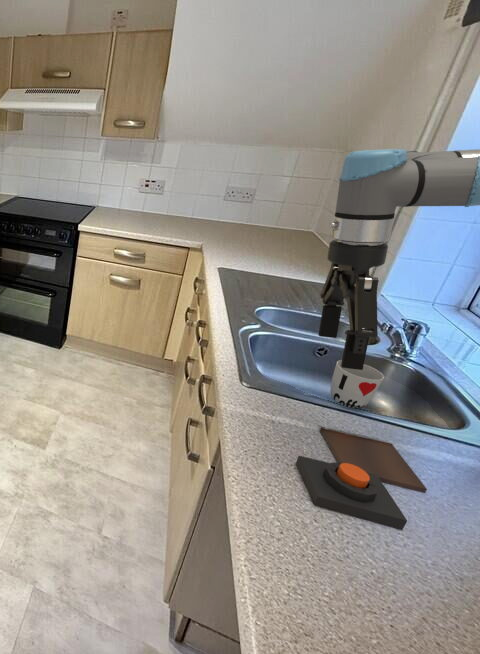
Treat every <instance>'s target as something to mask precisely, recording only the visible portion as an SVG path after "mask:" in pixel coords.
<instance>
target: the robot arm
mask: <svg viewBox="0 0 480 654" xmlns="http://www.w3.org/2000/svg"><path fill="white" fill-rule="evenodd" d="M338 182H339V184H338V189H337V190H338V191H337V196H336V197H337V198H336V205H335V212H334V217H333V221H331V222H329V223H328V224H329V225H328V226H329V228H332V229H331V236H330V237H331V238H332V240H331V241H329V245H328V251H327V260H328V261H329V262H330V263H331V265H330V268H329V272H328V274H327V276H326V279H325V282H324V285H323V287H322V290H321V292H320V294H319V296H320V299H322V304H323V305H322V309H321V310H322V311H321V316H320V322H319V328H318V336H319V337H321V338H323V337H324V338H331V339H332V338H333V339H337V337H338V332H339V326H340V320H341V315H342V310H343V307H342V306H345V301H344V300H345V299H346V304H347V313H348V323H349V329H346V330H345V331H344V334H345V335H346V337H345V342H344V348H343V353H342V358H341V360H342V363H341V367H342V368H349V369H357V370H363V366H364V364H365V360H366V355H367V350H368V345H369V341H370V338H377V337H378V335H379V333H378V287H379V282H380V281H379V277H373V276H371V275H370V270H371V269H372V268H374V267H375V268H378V267H381V266H383V265H385V263H386V259H387V255H388V249H389V245H388V244H387V242H389V241H390V240H391V238H392V237H391V236H392V233H393V232H392V231H393V227H394V222H395V215H396V210H397V208H399V207H401V208H405V207H406V208H409V207H464V208H469V207H477V206H478V207H479V206H480V148H477V149H457V150H456V149H455V150H441V151H417V150H407V151H406V150H405V149H403V148H384V149H383V148H382V149H365V150H364V149H363V150H354V151H352V152H350V153H348V154H347V155H346V156H345V158H344V161H343V164H342V168H341V172H340V176H339V178H338Z"/></svg>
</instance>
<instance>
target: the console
mask: <svg viewBox="0 0 480 654" xmlns="http://www.w3.org/2000/svg"><path fill="white" fill-rule="evenodd" d="M340 464H342V463H340V462H337V461H334V462H327V461H323V460H318V459H316V458H311V457H308V456H307V457H306V456H303V455H297V459H296V462H295V466H296V468H297V470H298V473H299V475H300V478H301V480H302V482H303V484H304V487H305V488H306V490H307V493H308V495H309V497H310V500H311V502H312V504H313V506H314V507H317V508H322V509H325V510H328V511H332V512H335V513H340V514H343V515H347V516H350V517H353V518H357V519H361V520H365V521H368V522H371V523H375V524H378V525H382V526H386V527H390V528H393V529H396V530H399V531H403V530H404V528H405V526H406V524H407V523H408V519H407V518H406V516H405V515H404V513H403V512H402V510H401V509H400V508H399V506H398V505H397V503H396V502H395V499H394V498H393V497H392V496H391V494H390V492H389V491H388V489H387V488H386V487H385V485H384V483H383V482H381V480H380V479H379V477H378V476H377V475H376V474H372V473H368V472H366V473H367V474H368V475H369V477H370V480H369V482H368V484H367V486H366V488H363V489H361V488H358V487H354V486H352V485H350V484H348V483H346V482H344V481H343V480H342V479H340V478H339V477H338V476H337V470H338V468H339V466H340Z"/></svg>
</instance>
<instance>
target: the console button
mask: <svg viewBox="0 0 480 654" xmlns="http://www.w3.org/2000/svg"><path fill="white" fill-rule="evenodd" d="M337 476H338V477H339V478H340V479H342V480H343V481H344V482H346V483H348V484H350V485H352V486H354V487H358V488H361V489H363V488H366V486H367V484H368V482H369V480H370V477H369V475H368V474H367V473H366V472H365V471H364V470H362V469H361V468H359V467H357V466H355V465H352V464H349V463H342V464H340V466H339V468H338V470H337Z"/></svg>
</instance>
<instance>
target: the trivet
mask: <svg viewBox="0 0 480 654" xmlns="http://www.w3.org/2000/svg"><path fill="white" fill-rule="evenodd" d="M319 433H320V435H321V436H322V438H323V440H324V442H325V443H326V445H327V447H328V448H329V450H330V452H331V453H332V456H333V457H334V459H335V460H336V462H340V463H349V464H352V465H355V466H357V467H359V468H361V469H362V470H364V471H365V472H368V473H372V474H376V475H377V476H378V477H379V479H380V480H381V482H382V483H383V484H386V485H387V484H388V485H391V486H395V487H399V488H403V489H407V490H410V491H415V492H419V493H422V494H425V493H426V492H427V490H428V488H427V487H426V486H425V485H424V483H423V482H422V481H421V479H420V478H419V477H418V475H417V474H416V473H415V472H414V471H413V469H412V468H411V466H410V465H409V464H408V462H407V461H406V460H405V459H404V457H403V456H402V455H401V454H400V452H399V450H397V448H396V447H395V446H394V445H393V443H390V442H387V441H381V440H378V439H373V438H368V437H363V436H359V435H355V434H350V433H347V432H342V431H338V430H332V429H327V428H325V427H320V429H319Z"/></svg>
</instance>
